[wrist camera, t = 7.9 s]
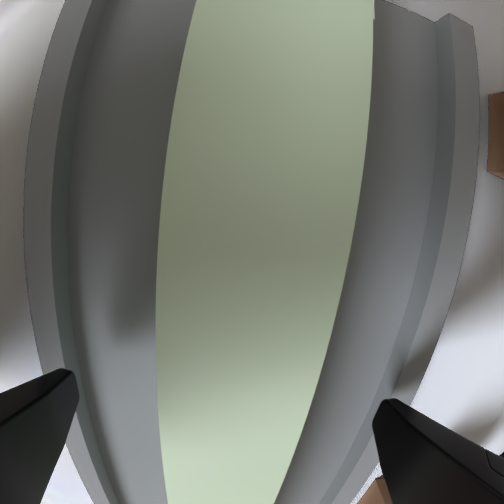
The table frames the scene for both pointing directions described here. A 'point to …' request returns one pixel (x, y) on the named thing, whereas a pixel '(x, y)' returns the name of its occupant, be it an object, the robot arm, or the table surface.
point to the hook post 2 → (496, 135)
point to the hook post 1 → (376, 493)
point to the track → (147, 233)
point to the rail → (255, 235)
